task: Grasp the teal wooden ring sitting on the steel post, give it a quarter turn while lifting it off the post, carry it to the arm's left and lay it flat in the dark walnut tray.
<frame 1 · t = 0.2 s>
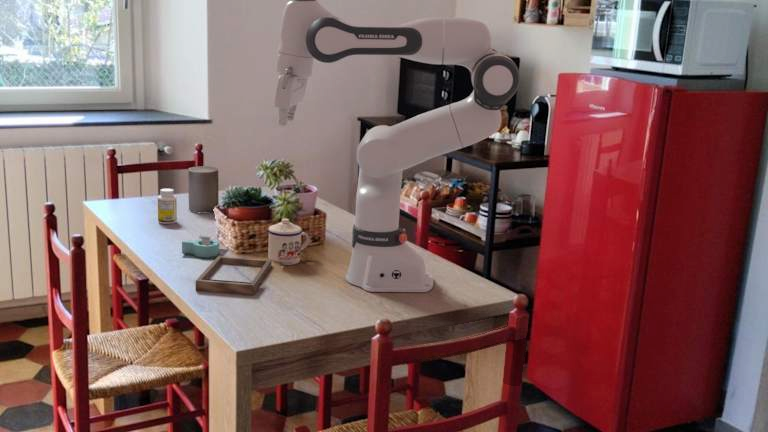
hand: (286, 122, 200), 39 cm above the table, tool pointing down, fingers open, 8 cm apart
post stand: (205, 256, 218), on the table
teacup with lid: (288, 260, 220), on the table
walnut tray: (235, 279, 202), on the table
supplement bottle: (167, 222, 249), on the table
pillar candle: (203, 210, 267), on the table
teal ring: (205, 253, 218), point 1 cm above the table, touching post stand
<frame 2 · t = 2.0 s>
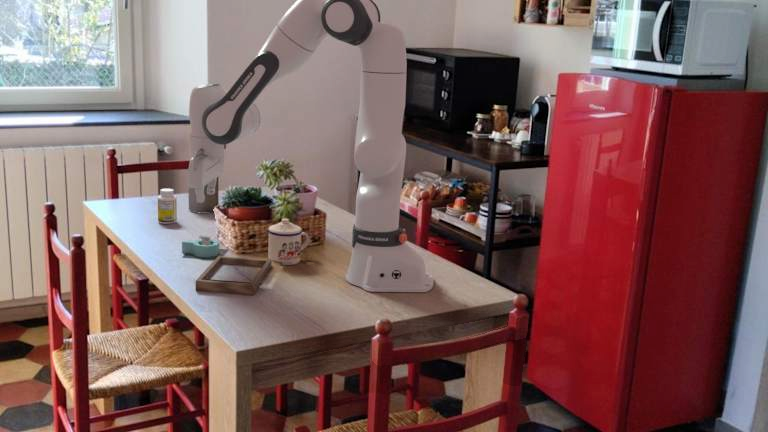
hand: (205, 198, 214), 16 cm above the table, tool pointing down, fingers open, 8 cm apart
nothing on the table moved.
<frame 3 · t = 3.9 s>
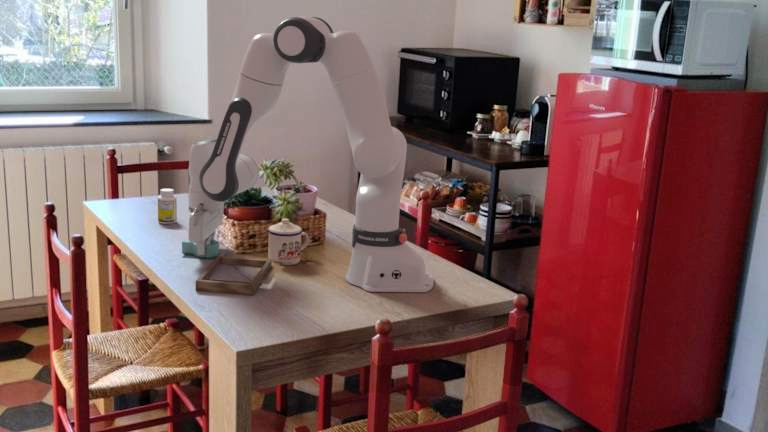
hand: (205, 250, 218), 2 cm above the table, tool pointing down, fingers closed on teal ring, 6 cm apart
teal ring: (205, 253, 218), point 1 cm above the table, touching gripper, post stand
everything else where it was.
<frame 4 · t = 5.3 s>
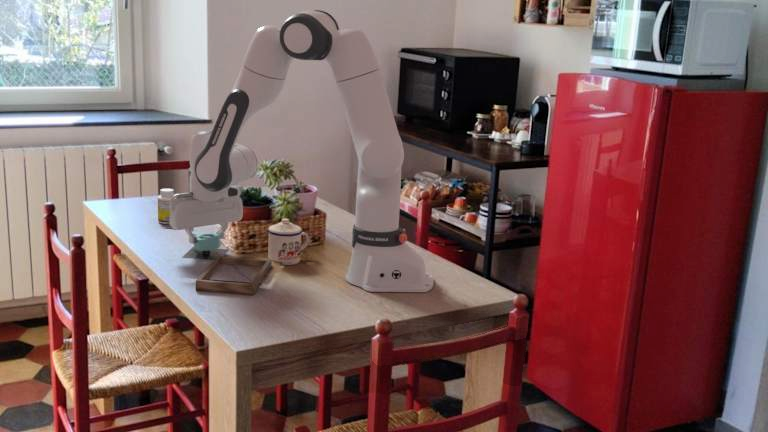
hand: (206, 240, 217), 4 cm above the table, tool pointing down, fingers closed on teal ring, 7 cm apart
teal ring: (207, 247, 218), point 3 cm above the table, tilted 6°, touching gripper
everything else where it was.
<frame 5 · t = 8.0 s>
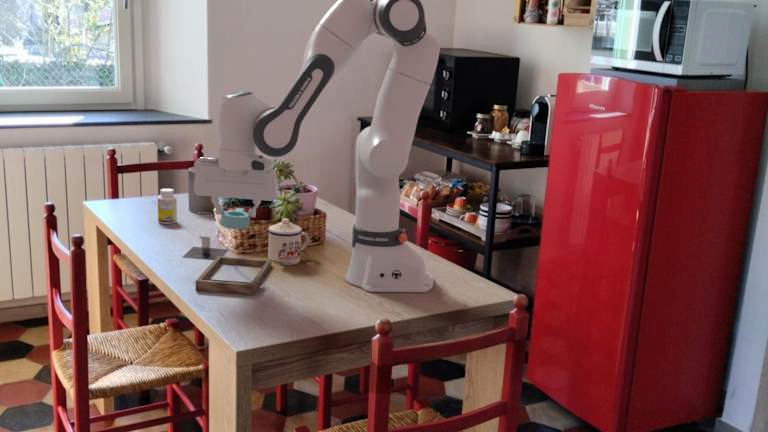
hand: (235, 215, 198), 17 cm above the table, tool pointing down, fingers closed on teal ring, 7 cm apart
teal ring: (235, 225, 199), point 14 cm above the table, touching gripper
everything else where it was.
when the fingers open (4 cm above the table, at t = 10.8 s): teal ring stays where it is, resting on walnut tray.
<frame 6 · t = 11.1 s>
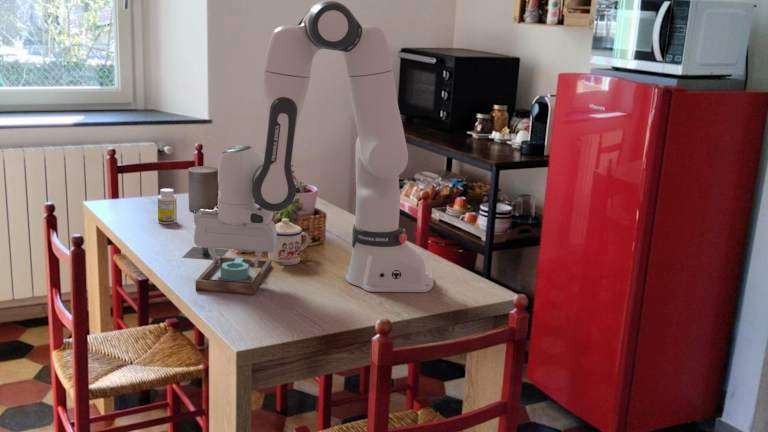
hand: (235, 265, 201), 4 cm above the table, tool pointing down, fingers open, 8 cm apart
teal ring: (234, 277, 202), point 1 cm above the table, touching walnut tray
everything else where it was.
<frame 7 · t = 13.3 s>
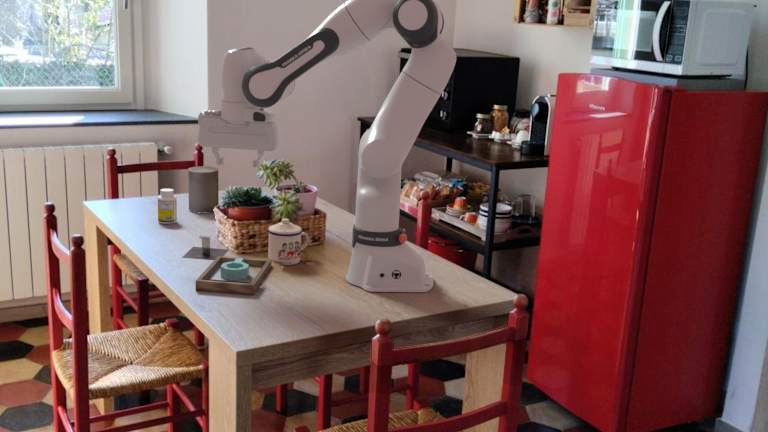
hand: (238, 165, 209), 26 cm above the table, tool pointing down, fingers open, 8 cm apart
nothing on the table moved.
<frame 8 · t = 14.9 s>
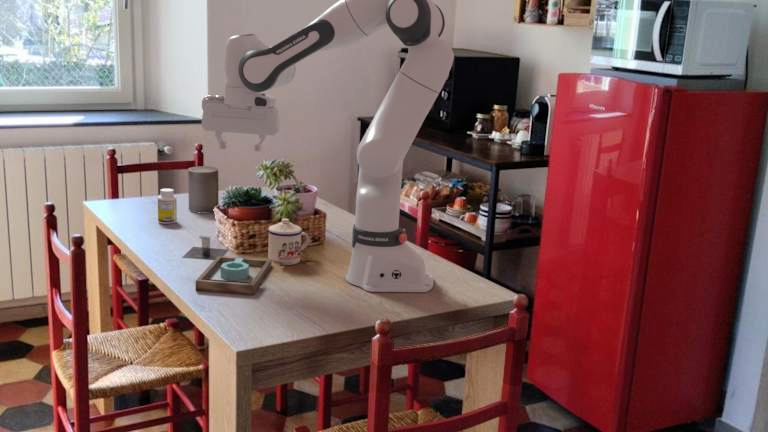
hand: (240, 149, 214), 29 cm above the table, tool pointing down, fingers open, 8 cm apart
nothing on the table moved.
at the end: teal ring inside the target area on the walnut tray (0.1 cm from its centre), point 0.6 cm above the walnut tray's base; teal ring tilted 0°; the gripper is holding nothing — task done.
